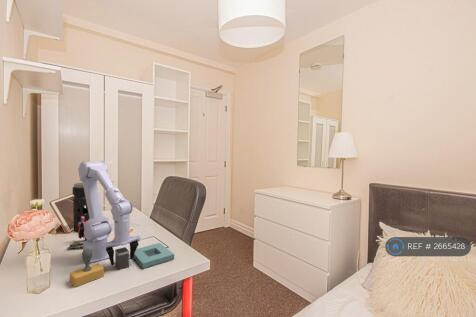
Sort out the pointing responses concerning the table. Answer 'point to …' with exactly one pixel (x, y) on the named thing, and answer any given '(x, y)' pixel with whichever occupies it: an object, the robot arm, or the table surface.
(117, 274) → the table surface
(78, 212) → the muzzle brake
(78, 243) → the statue
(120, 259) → the plug
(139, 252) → the outlet block
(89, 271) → the rubber stamp
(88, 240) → the robot arm
